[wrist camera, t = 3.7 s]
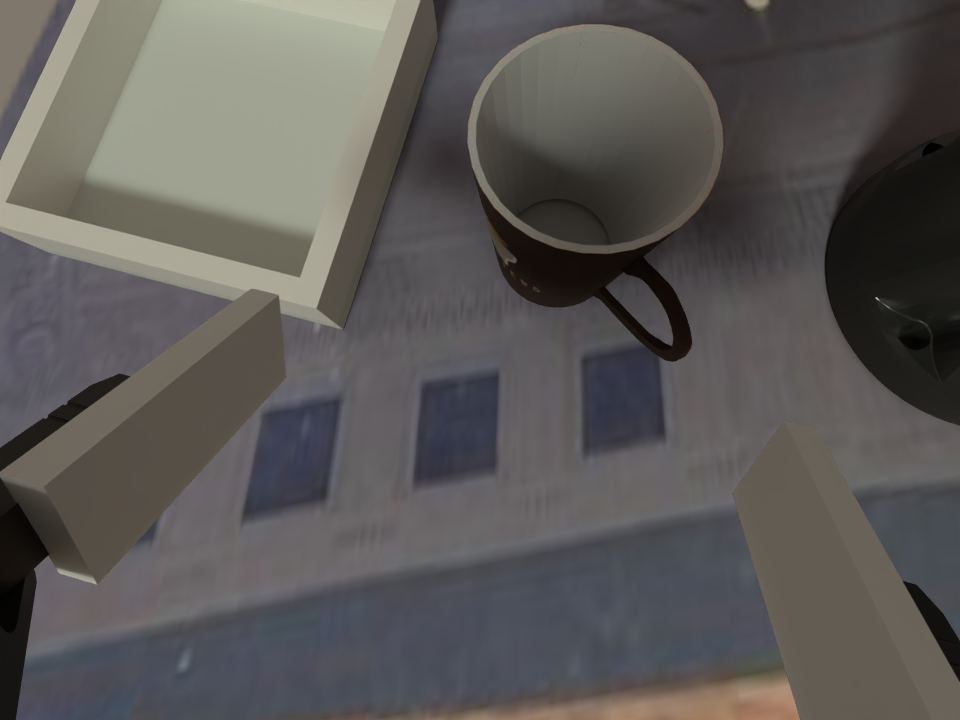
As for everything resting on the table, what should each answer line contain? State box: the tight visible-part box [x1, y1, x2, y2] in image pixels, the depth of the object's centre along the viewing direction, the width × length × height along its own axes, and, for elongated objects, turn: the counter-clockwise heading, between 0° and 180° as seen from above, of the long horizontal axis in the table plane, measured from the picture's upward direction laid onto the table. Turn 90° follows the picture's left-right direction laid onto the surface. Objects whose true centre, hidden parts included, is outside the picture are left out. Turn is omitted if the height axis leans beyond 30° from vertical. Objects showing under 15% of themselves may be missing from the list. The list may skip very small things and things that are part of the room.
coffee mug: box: [467, 24, 724, 362], centre depth 21 cm, size 12×9×10 cm
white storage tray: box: [0, 0, 438, 329], centre depth 26 cm, size 17×18×4 cm
